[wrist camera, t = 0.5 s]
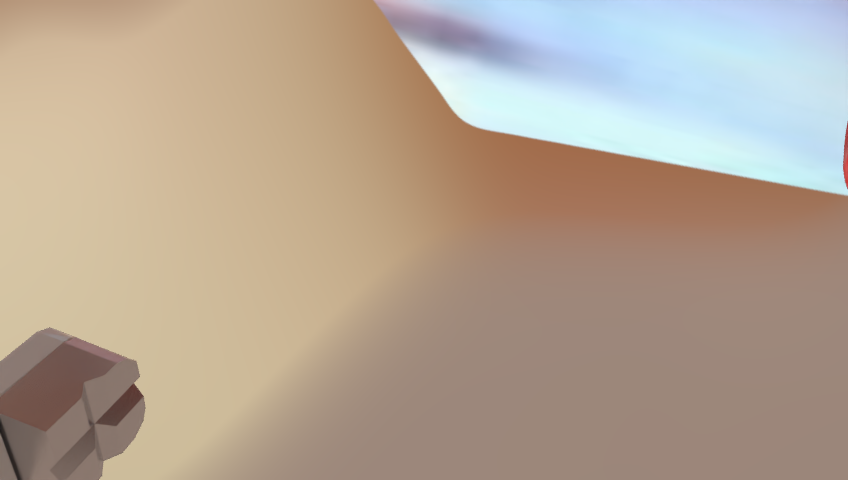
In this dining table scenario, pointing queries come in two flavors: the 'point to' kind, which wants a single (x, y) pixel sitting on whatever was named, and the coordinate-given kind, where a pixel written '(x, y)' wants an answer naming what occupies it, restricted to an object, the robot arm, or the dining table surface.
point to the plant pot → (846, 158)
